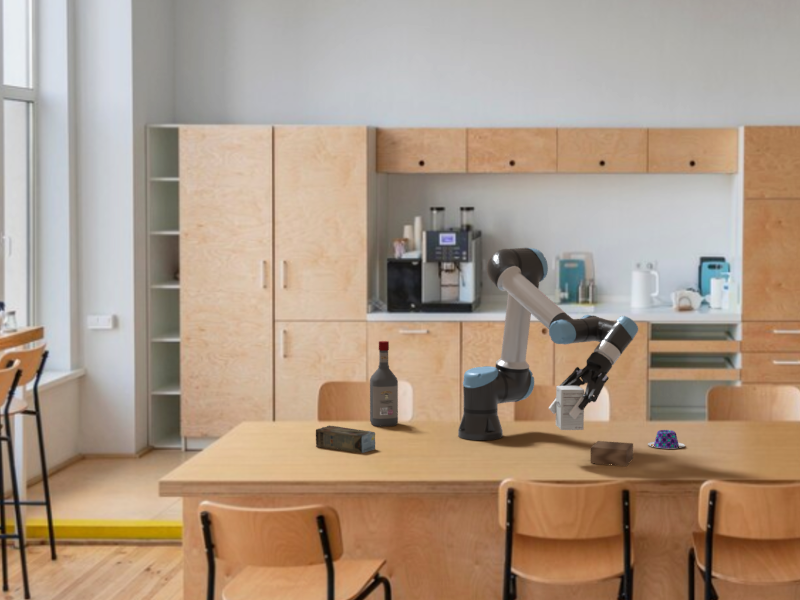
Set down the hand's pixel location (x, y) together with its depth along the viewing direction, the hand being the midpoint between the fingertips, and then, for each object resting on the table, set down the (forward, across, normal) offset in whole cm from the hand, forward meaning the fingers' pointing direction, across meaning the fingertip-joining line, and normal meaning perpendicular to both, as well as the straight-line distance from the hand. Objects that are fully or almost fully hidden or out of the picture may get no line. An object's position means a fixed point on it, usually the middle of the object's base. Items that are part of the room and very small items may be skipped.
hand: (561, 413), depth 376 cm
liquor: (+21, +85, -2) cm, 88 cm away
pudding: (-21, +3, -44) cm, 49 cm away
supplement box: (+1, 0, -6) cm, 6 cm away
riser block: (0, -6, -22) cm, 22 cm away
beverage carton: (+44, +55, +20) cm, 73 cm away
